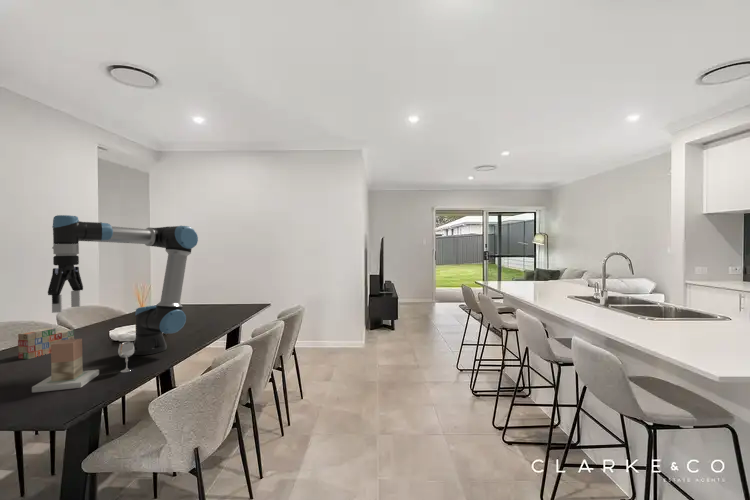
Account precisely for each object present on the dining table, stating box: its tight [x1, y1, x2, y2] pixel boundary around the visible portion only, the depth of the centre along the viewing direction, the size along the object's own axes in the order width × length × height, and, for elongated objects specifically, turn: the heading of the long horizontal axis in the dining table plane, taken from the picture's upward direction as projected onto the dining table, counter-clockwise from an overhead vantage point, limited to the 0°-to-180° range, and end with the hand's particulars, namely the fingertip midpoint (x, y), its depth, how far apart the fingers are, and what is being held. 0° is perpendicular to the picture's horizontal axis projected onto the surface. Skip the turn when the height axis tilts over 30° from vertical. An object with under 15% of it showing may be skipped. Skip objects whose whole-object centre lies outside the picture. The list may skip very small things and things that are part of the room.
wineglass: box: [117, 340, 135, 373], centre depth 153 cm, size 6×6×12 cm
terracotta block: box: [50, 338, 83, 364], centre depth 139 cm, size 7×7×7 cm
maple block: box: [50, 355, 84, 381], centre depth 139 cm, size 7×7×7 cm
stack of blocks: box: [17, 327, 75, 360], centre depth 182 cm, size 21×6×12 cm, turn 168°
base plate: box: [31, 369, 100, 393], centre depth 139 cm, size 15×15×2 cm
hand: (66, 309), depth 139 cm, fingers open, 13 cm apart
